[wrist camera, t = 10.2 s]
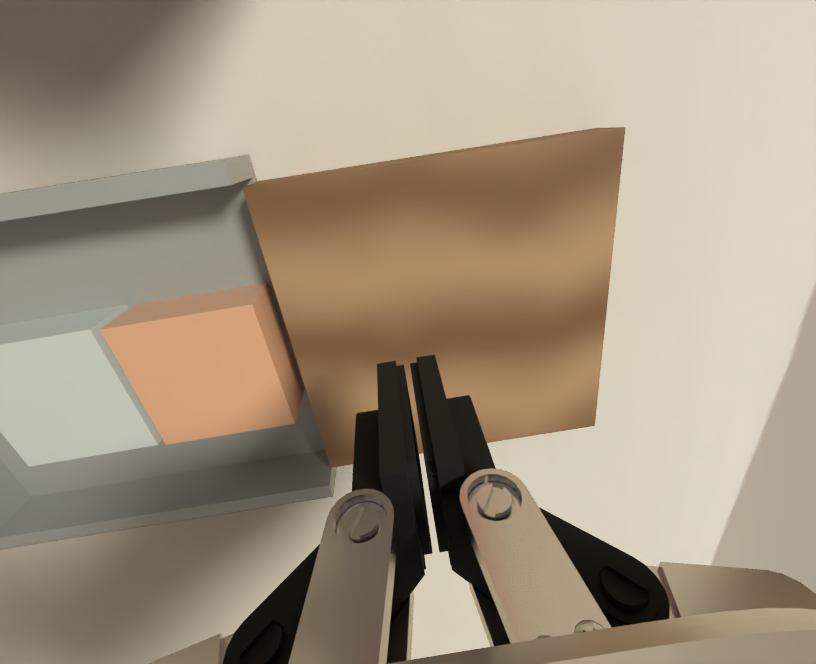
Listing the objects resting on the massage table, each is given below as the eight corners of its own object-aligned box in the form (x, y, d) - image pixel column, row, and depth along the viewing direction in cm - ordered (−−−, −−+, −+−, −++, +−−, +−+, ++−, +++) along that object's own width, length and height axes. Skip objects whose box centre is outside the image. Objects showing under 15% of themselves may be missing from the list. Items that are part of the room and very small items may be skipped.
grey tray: (-204, 225, 15) (-325, 245, 13) (249, 154, 15) (222, 159, 13) (31, 502, 23) (-15, 551, 20) (338, 453, 23) (333, 496, 20)
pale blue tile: (-7, 327, 17) (-63, 355, 15) (126, 304, 17) (89, 329, 15) (67, 429, 20) (29, 466, 18) (181, 410, 20) (157, 445, 18)
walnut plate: (257, 181, 16) (242, 187, 14) (597, 127, 16) (625, 127, 14) (334, 440, 22) (330, 467, 21) (577, 402, 22) (594, 425, 21)
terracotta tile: (134, 304, 17) (99, 329, 15) (267, 282, 17) (252, 304, 15) (188, 410, 20) (165, 444, 18) (303, 391, 20) (295, 423, 18)
